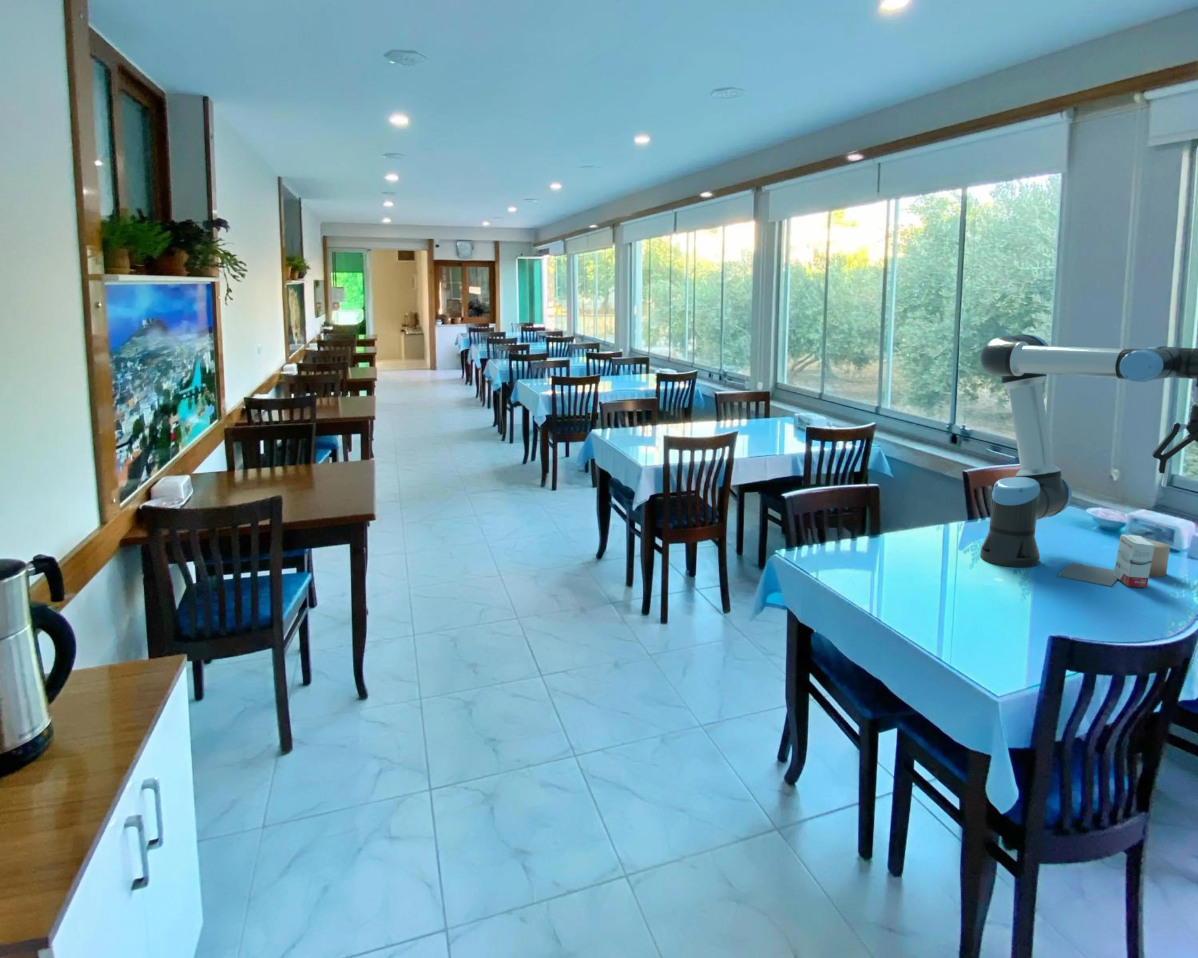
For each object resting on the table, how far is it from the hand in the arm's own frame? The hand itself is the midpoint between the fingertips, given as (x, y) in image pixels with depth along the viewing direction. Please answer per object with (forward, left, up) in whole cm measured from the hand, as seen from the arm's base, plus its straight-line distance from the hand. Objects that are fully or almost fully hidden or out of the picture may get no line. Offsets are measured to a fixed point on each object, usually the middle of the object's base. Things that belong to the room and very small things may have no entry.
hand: (1197, 489), depth 192 cm
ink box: (-11, -3, -26) cm, 29 cm away
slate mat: (-20, -3, -26) cm, 33 cm away
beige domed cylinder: (-8, +9, -26) cm, 29 cm away
